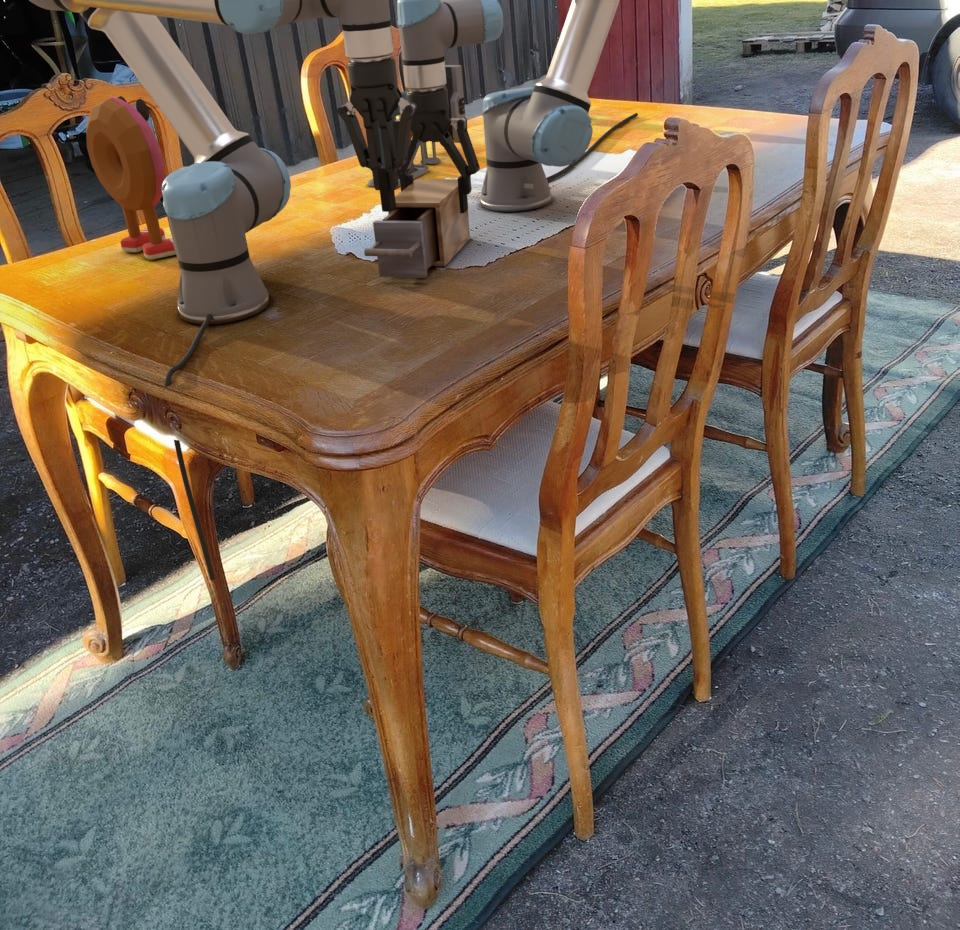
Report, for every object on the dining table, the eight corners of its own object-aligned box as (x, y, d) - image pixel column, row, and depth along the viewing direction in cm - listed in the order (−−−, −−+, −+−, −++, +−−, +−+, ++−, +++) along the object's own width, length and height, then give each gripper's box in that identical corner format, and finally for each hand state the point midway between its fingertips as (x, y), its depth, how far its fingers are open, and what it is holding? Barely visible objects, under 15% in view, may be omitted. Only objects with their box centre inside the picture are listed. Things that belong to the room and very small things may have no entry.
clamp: (395, 188, 226) (384, 92, 216) (364, 185, 230) (352, 91, 219) (468, 152, 252) (461, 65, 241) (439, 150, 256) (431, 64, 245)
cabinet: (444, 266, 176) (439, 202, 170) (394, 265, 179) (387, 202, 173) (470, 238, 190) (465, 179, 184) (423, 238, 192) (417, 179, 187)
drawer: (414, 289, 164) (408, 233, 159) (367, 288, 166) (360, 232, 161) (451, 250, 181) (447, 198, 176) (408, 249, 183) (402, 198, 178)
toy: (206, 251, 195) (170, 95, 179) (161, 266, 188) (121, 105, 173) (151, 235, 208) (114, 87, 192) (108, 248, 202) (66, 97, 186)
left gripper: (418, 52, 151) (433, 203, 163) (341, 55, 154) (361, 202, 166) (402, 60, 145) (418, 216, 157) (322, 63, 148) (344, 215, 160)
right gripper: (491, 82, 174) (499, 205, 185) (375, 85, 180) (390, 205, 191) (480, 90, 168) (489, 217, 179) (360, 93, 174) (376, 216, 185)
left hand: (389, 209), depth 161 cm, fingers closed
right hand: (438, 210), depth 185 cm, fingers closed on cabinet, 10 cm apart
